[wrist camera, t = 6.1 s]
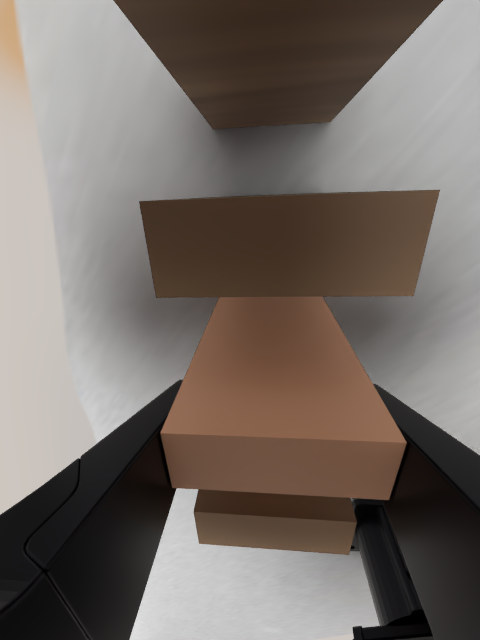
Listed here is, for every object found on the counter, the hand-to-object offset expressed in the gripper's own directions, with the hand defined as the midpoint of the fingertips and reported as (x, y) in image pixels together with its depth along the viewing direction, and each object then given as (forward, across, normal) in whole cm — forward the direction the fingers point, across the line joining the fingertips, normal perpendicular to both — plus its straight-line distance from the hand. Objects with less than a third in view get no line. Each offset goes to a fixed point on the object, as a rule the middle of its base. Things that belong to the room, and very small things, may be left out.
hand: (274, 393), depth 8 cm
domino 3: (+8, 0, -4) cm, 9 cm away
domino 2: (+6, 0, 0) cm, 6 cm away
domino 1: (+8, 0, +4) cm, 9 cm away
